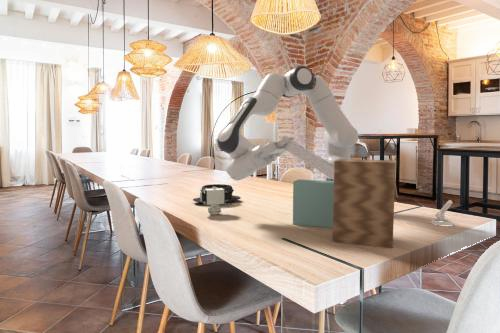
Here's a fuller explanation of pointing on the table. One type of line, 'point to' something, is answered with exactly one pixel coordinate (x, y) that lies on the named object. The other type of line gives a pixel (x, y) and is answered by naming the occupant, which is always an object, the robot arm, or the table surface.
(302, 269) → the table surface
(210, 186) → the casserole
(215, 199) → the pneumatic valve
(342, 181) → the stand
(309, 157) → the rail
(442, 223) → the hook
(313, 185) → the mint green rectangular block
